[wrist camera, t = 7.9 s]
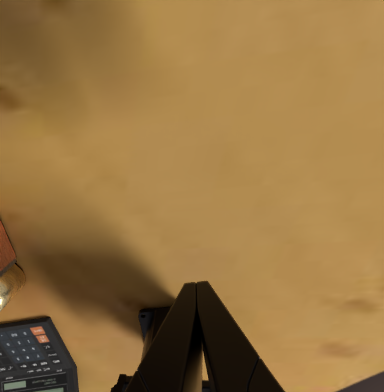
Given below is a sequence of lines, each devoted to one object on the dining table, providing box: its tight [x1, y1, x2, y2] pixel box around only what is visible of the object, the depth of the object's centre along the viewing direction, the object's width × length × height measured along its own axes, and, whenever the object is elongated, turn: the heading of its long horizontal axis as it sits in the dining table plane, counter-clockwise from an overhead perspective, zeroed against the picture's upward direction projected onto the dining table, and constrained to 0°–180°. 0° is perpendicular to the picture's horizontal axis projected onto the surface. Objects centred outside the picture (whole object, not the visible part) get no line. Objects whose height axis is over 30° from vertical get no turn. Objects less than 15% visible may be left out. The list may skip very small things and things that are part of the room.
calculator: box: [0, 317, 79, 392], centre depth 26 cm, size 9×12×3 cm
